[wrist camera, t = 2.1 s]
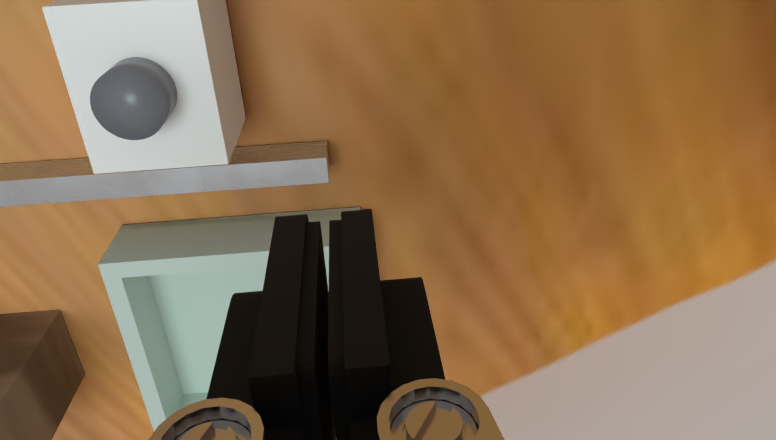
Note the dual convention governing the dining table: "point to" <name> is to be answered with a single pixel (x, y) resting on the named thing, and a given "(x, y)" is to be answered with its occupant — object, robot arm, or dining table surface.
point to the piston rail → (164, 176)
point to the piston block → (150, 81)
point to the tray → (186, 296)
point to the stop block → (36, 374)
